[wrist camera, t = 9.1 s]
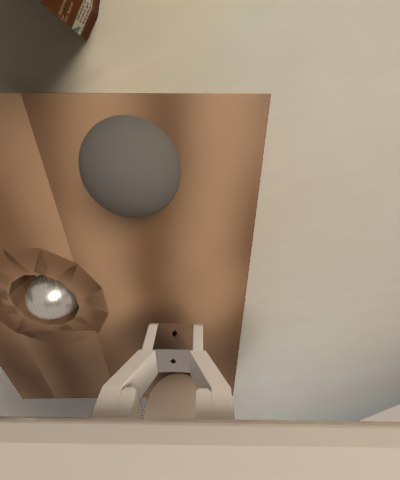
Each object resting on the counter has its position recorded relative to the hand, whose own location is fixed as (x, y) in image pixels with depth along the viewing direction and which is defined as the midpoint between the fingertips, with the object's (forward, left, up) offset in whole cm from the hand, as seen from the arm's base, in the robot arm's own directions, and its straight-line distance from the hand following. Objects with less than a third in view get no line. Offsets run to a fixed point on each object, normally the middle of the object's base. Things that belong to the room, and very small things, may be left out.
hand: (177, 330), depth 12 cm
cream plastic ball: (+1, +9, 0) cm, 9 cm away
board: (+6, 0, -5) cm, 8 cm away
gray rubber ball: (+2, -9, -1) cm, 9 cm away
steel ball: (+9, 0, -4) cm, 10 cm away
